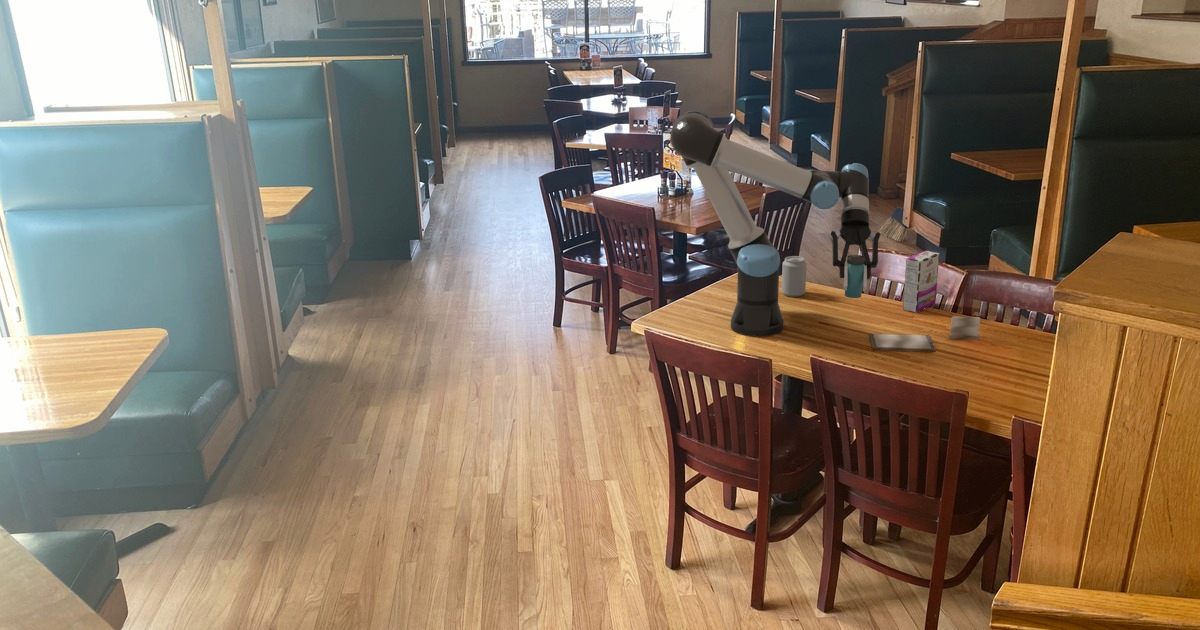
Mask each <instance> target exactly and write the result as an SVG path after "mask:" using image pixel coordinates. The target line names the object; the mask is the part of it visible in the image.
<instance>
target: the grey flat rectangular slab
mask: <svg viewBox="0 0 1200 630" xmlns="http://www.w3.org/2000/svg"><path fill="white" fill-rule="evenodd" d="M868 337H869V341H870V343H871V348H872V350H873V351H882V352H883V351H884V352H886V351H887V352H888V351H889V352H891V351H892V352H913V353H915V352H916V353H917V352H918V353H937V349H936V348H935V345H934V340H933V338H932V336H931V335H925V334H903V333H902V334H898V333H897V334H896V333H868Z"/></svg>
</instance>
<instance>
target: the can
mask: <svg viewBox="0 0 1200 630" xmlns="http://www.w3.org/2000/svg"><path fill="white" fill-rule="evenodd" d="M805 260H806V258H805V257H804V256H803V257H802V256H798V255H792V256H791V255H790V256H786V257H785V258H784V261H782V266H781V267H782V268H781V271H782V272H781V293H782V294H783V295H785V296H787V297H792V298H795V297H796V298H798V297H802V296H803V295H804V294H805V293H806V283H807V265H808V263H807V262H806V261H805Z"/></svg>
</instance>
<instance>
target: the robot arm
mask: <svg viewBox="0 0 1200 630" xmlns="http://www.w3.org/2000/svg"><path fill="white" fill-rule="evenodd" d="M670 143H671V147H672V148H673V150H674V151H675V153H676V154H678V155H679V156H680V157H682V160H683V161H684V164H685V166H686V167H688V168H691V169H693V170H694V171H695V173H696V175H697V178H698V180H699V182H700V183H701V185H702V187H703V189H704V191H705V193H706V195H707V197H708V199H709V201H710V202H711V205H712V207H713V208H714V211H715V212H716V215H717V217H718V218H719V221H720V223H721V225H722V227H723V228H724V230H725V233H726V235H727V236H728V238H729V242H728V245H727V247H728V250H729V251H730V254H731V255H732V257H733V259H734V261H735V264H736V266H737V283H736V284H737V286H736V287H737V289H736V290H737V291H736V293H737V297H736V304H735V306H734V309H733V311H732V312H733V313H732V315H731V318H730V329H731V330H732V331H734V332H735V333H737V334H739V335H743V336H748V335H749V336H750V337H769V336H774V335H777V334H779V333H782V331H783V330H784V324H785V323H784V318H783V315H782V312H781V308H780V305H779V284H780V265H781V258H780V253H779V251H778V250H777V248H776V247H775V246H774V244H773V243H772V241H770V239H769V237H768V236H767V232H766V231H765V229H764V228H762V227H759V226H757V224H756V223H755V220H754V219H753V217H752V215H751V213H750V210H749V209H748V207H747V205H746V203H745V201H744V199H743V197H742V195H741V193H740V190H739V189H738V187H737V185H736V183H735V181H734V179H733V177H732V175H731V173H730V171H731V172H733V173H736V174H738V175H741V176H743V177H745V178H748V179H752V180H754V181H756V182H758V183H761V184H763V185H766V186H769V187H771V188H773V189H776V190H778V191H781V192H784V193H785V194H786V193H787V194H789V195H792V196H794V197H796V198H798V199H801V200H804V201H806V202H808V203H811V204H812V205H813V206H815V208H817V209H819V210H829V209H830V210H831V208H834V206H836V205H837V203H838V202H839V200H840V199H841V201H840V202H841V203H840V205H841V207H840V208H841V210H840V211H841V212H840V215H841V216H840V220H841V221H840V229H839V230H838V231H833V230H832V231H830V236H829V238H830V240H831V243H832V266H833V267H838V268H839V279H843V291H845V290H847V286H848V266H847V264H846V262H847V257H848V253H849V251H850V250H849V249H850V246H858V248H859V250H860V252H861V253H860V255H861V256H864V257H865V263H864V271H863V283H862V292H866V291H867V288H868V281H867V280H870V279H871V276H872V269H874V268H877V267H878V262H879V240H880V238H881V233H880V232H873V231H872V230H871V228H870V214H869V213H870V203H869V202H870V200H869V197H870V196H869V195H870V193H869V191H870V189H869V188H870V187H869V186H870V184H869V183H870V179H869V171H868V168H867V167H866V166H865V164H861V163H857V162H853V163H852V164H850V163H848V164H846V165H844V166H842V169H841V171H838V170H837V171H836V170H835V171H833V170H820V169H803V168H801V167H799V166H796V165H793V164H791V163H789V162H787V161H784V160H780V159H778V158H775V157H773V156H771V155H768V154H766V153H763V152H761V151H758V150H755V149H753V148H750V147H748V146H746V145H743V144H740V143H738V142H735V141H733V140H731V139H727V136H726V134H725V133H723V132H721V131H719V130H717V129H715V127H714V123H713V121H712V119H711V118H710V117H708V115H706V114H705V113H703V112H701V111H697V110H690V111H686V112H684V113H682V114H681V115H679V116H678V117H677V119H676V120H675V121H674V123H673V125H672V129H671V131H670ZM840 237H841V238H842V239H843V241H844V242H845V244H844V248H843V252H842V255H841V259H840V260H839V243H838V241H839V239H840ZM868 238H870V240H871V242H872V245H871V246H872V247H871V248H872V249H871V257H870V254H869V250H868V248H867V242H866V241H867V240H868ZM870 258H871V259H870Z"/></svg>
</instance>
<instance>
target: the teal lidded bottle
mask: <svg viewBox="0 0 1200 630" xmlns="http://www.w3.org/2000/svg"><path fill="white" fill-rule="evenodd" d="M864 263H865V257H864V256H862V254H849V255H847V257H846V265H847V266H848V286H847V290H844V296H845V297H846V298H848V299H849V298H850V299H859V298H861V297H862V293H863V271H864Z"/></svg>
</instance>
